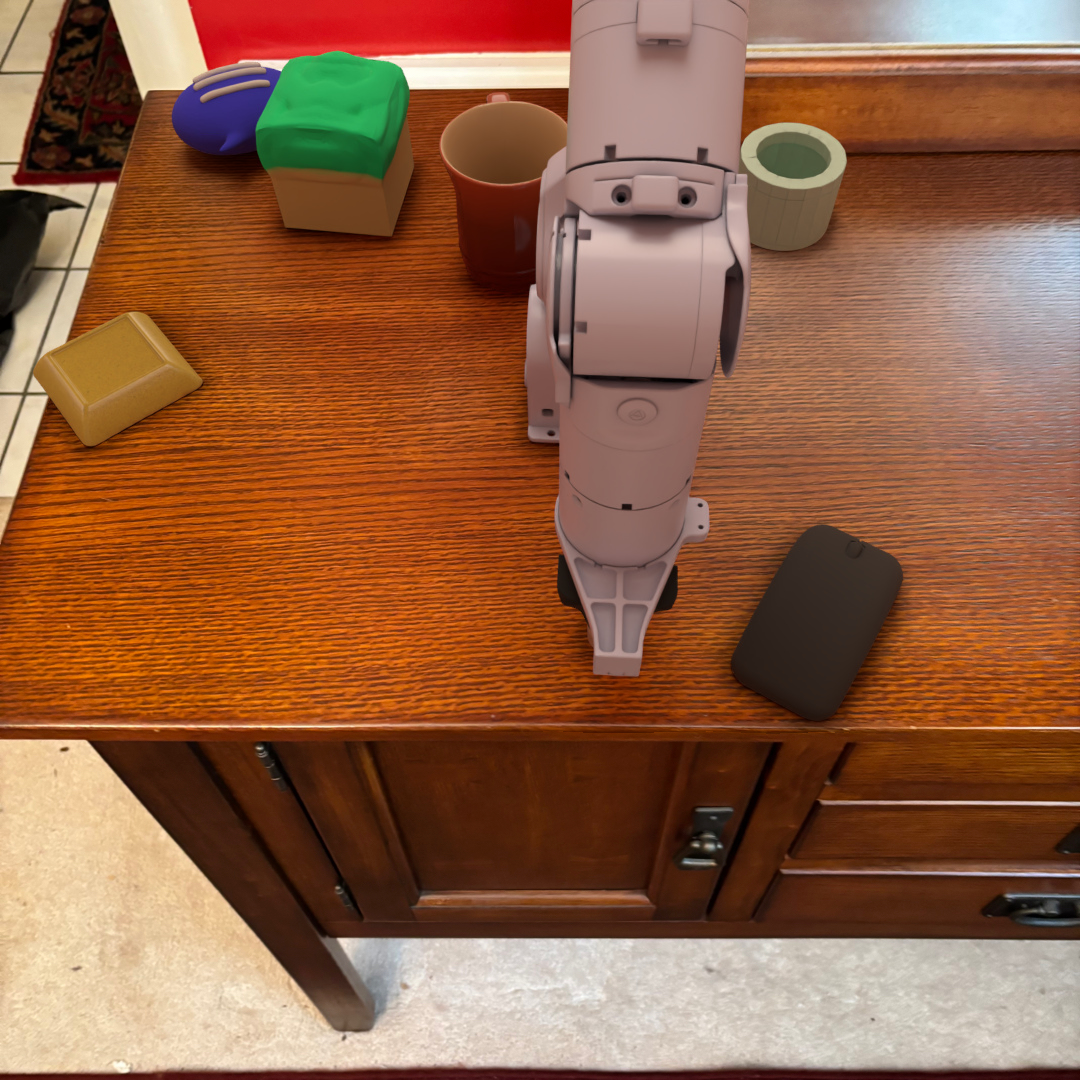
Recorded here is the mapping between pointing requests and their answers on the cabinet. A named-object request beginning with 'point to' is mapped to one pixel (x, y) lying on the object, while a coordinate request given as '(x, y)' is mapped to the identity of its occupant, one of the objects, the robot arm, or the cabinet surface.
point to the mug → (500, 185)
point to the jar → (790, 184)
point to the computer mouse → (817, 621)
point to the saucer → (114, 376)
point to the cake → (338, 143)
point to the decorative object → (224, 108)
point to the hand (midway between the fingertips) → (611, 607)
